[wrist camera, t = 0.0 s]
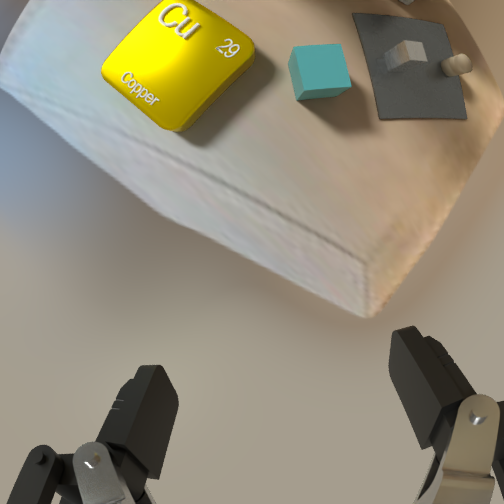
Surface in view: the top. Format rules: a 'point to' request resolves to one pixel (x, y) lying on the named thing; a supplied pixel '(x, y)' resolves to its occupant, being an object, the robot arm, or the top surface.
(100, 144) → the top surface
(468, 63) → the birch peg
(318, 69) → the teal toy cube
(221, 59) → the element tile
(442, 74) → the grey square base plate
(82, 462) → the robot arm
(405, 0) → the coffee box
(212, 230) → the top surface
